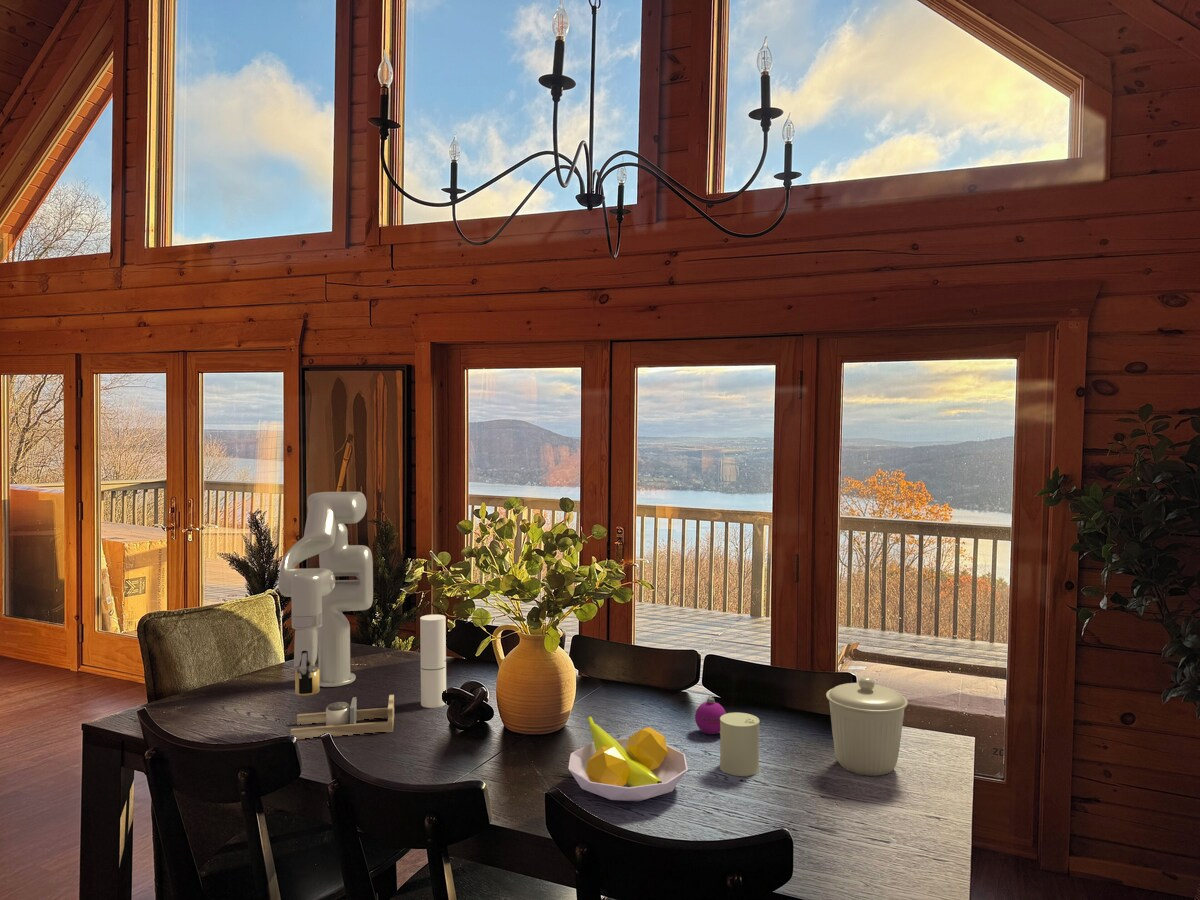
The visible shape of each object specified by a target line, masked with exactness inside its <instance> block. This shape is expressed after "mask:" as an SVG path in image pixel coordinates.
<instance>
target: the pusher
mask: <svg viewBox="0 0 1200 900" xmlns="http://www.w3.org/2000/svg"><path fill="white" fill-rule="evenodd" d="M357 700H358V699H357V696H355V697H354V696H353V697H352V698H351V703H350V724H357V721H358V720H357V710H358V709H357Z"/></svg>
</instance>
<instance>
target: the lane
mask: <svg viewBox="0 0 1200 900" xmlns="http://www.w3.org/2000/svg"><path fill="white" fill-rule="evenodd" d="M387 704H388V705H387V707H381V708H380V707H377V708H366V709H357V720H356V721H365V720H364V719H369V720H375V719H374V718H382V719H387V720H385V721H373V722H371V721H370V722H362V723H361V722H360V723H356V724H345V725H332V726H326V725H321V726H311V727H310V726H308V727H296V728H291V729H290V736H291V735H294V736H296V738H297V740H305V738H310V739H314V738H313V737H318V736H320V735H322V734H324V733H330V734H331V735H333V737H332V738H335V737H343V736H342V735H348V736H354V735H353V734H360V735H365V734H364V733H373V734H376V733H375V732H386V733H393V732H394V724H395V723H394V722H395V721H394V720H395V694H389V695H388V703H387ZM384 717H385V718H384ZM387 717H388V718H387ZM312 723H316V724H326V711H323V712H321V711H320V712H310V713H309V712H308V713H307V712H306V713H297V714H296V725H297V726H299V725H300V724H301V725H312Z"/></svg>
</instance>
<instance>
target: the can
mask: <svg viewBox="0 0 1200 900" xmlns="http://www.w3.org/2000/svg"><path fill="white" fill-rule="evenodd" d="M719 734H720V735H719V737H720V738H719V739H720V742H719V743H720V745H719V746H720V747H719V748H720V756H719V757H720V759H719V770H721V771H722V772H724V773H726V774H727V775H730V776H735V777H749V776H754V775H756V774H758V773H759V771H760V718H759V717H758V716H756V715H754V714H750V713H746V712H728V713H727V712H726V714H724V715H722V716H721V717H720V732H719Z"/></svg>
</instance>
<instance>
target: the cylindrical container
mask: <svg viewBox="0 0 1200 900" xmlns="http://www.w3.org/2000/svg"><path fill="white" fill-rule="evenodd" d="M446 617H447V616H445V615H444V614H426V615H422V616H420V618H419V620H420V621H419V622H420V623H419V624H420V626H419V627H420V628H419V629H420V631H419V632H420V636H419V637H420V638H419V641H420V706H421V707H423V708H428V709H433V708H434V709H435V708H437V709H438V708H441V707H444V706H445V705H446V704H445V703H444V702H443V701H442V693H443V691H445V690H446V691H447V645H446V644H447V641H446V640H447V637H446V635H447V631H446V629H447V628H446V623H447V621H446V620H447V619H446Z"/></svg>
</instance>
